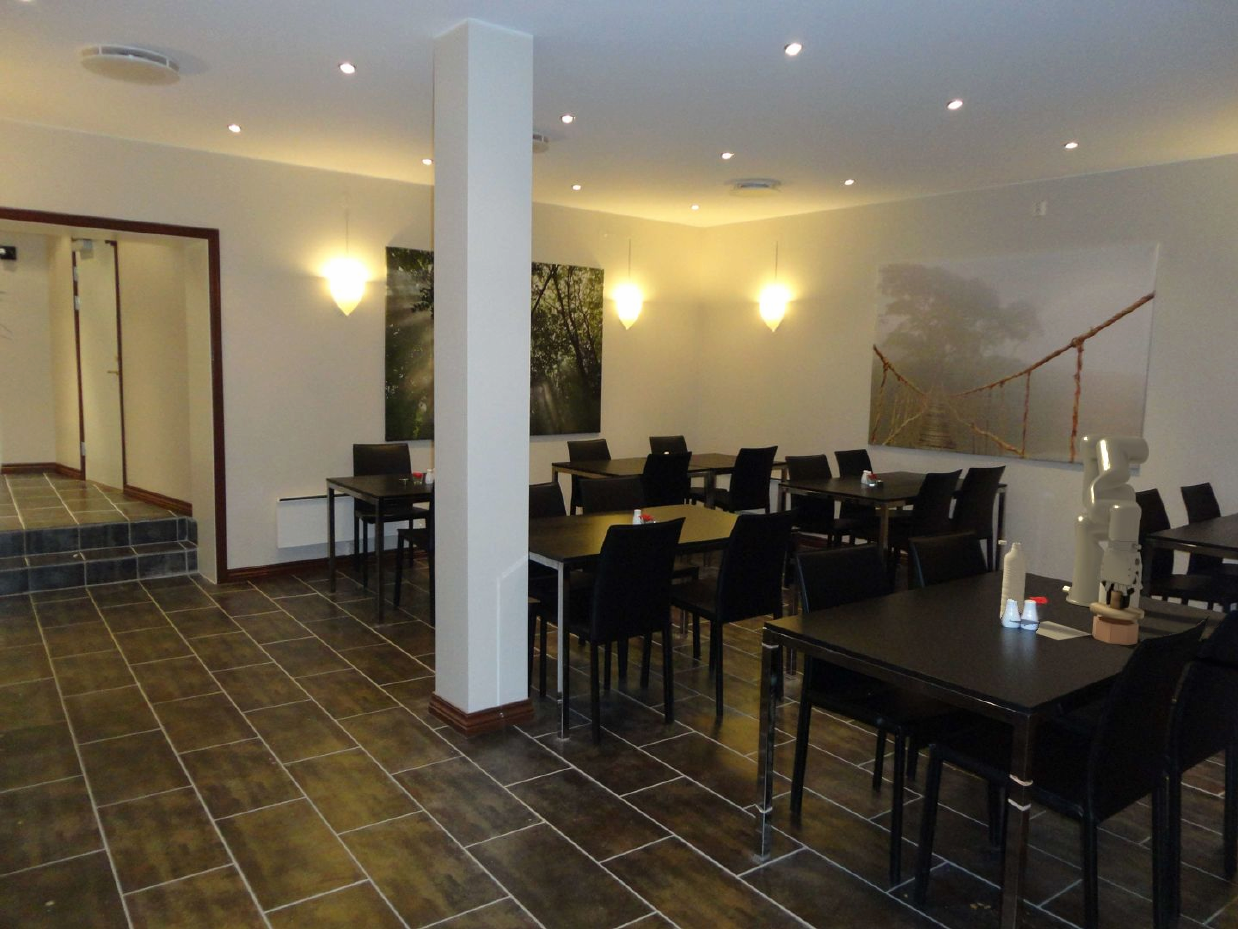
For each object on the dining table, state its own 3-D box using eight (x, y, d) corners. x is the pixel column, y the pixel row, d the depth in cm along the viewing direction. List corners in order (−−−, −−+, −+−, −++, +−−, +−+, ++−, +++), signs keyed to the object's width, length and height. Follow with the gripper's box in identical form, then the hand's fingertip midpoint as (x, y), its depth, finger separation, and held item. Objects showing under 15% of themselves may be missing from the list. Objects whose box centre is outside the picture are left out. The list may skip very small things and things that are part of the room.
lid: (1109, 605, 268) (1111, 584, 267) (1154, 616, 255) (1156, 595, 255) (1079, 609, 261) (1081, 588, 261) (1124, 621, 249) (1126, 599, 248)
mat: (1015, 627, 270) (1015, 626, 270) (1048, 622, 276) (1048, 621, 276) (1058, 641, 256) (1058, 640, 256) (1091, 635, 263) (1091, 634, 263)
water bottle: (1024, 619, 279) (1030, 543, 276) (1018, 624, 274) (1024, 545, 271) (996, 614, 284) (1002, 539, 282) (989, 618, 279) (995, 541, 277)
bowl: (1085, 636, 262) (1086, 617, 261) (1108, 632, 267) (1110, 613, 266) (1119, 647, 252) (1121, 627, 251) (1143, 643, 257) (1145, 623, 256)
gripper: (1158, 550, 250) (1152, 612, 252) (1104, 539, 265) (1099, 598, 267) (1142, 551, 247) (1136, 614, 249) (1088, 541, 262) (1083, 600, 264)
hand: (1117, 605), depth 258 cm, fingers closed on lid, 3 cm apart
